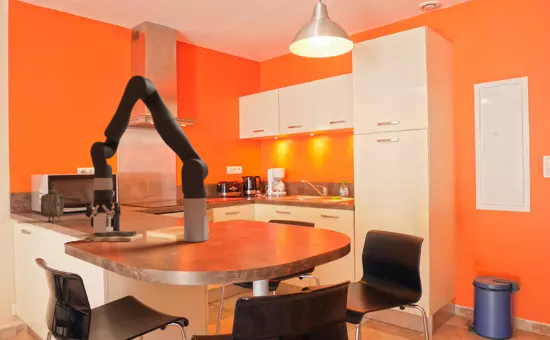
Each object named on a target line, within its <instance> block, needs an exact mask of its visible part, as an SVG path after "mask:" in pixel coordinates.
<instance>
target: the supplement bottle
mask: <svg viewBox="0 0 550 340" xmlns="http://www.w3.org/2000/svg"><path fill="white" fill-rule="evenodd" d="M112 209H113V211H114V213H115V208H114V207H112ZM105 215H109V214H108V213H106V214H105ZM120 221H121V215H120V216H118V217H116V225H115V227H113V231H121V229H120V226H121V224H120V223H121V222H120Z"/></svg>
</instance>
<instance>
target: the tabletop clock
mask: <svg viewBox="0 0 550 340" xmlns="http://www.w3.org/2000/svg"><path fill="white" fill-rule="evenodd" d="M52 185H54V186H52ZM50 188H51V189H50V190H49V191H48V193H45V194H43V195H42V196H41V197H40V214H41V216H43V217H45V218H46V217H48V219H47V220H50V221H51V218H52V222H53V221H54V220H55V217H57V219H61V220H62V218H61V216H63V214H64V211H65V210H64V207H65V202H64V194H63V193H61V192H60V193H59V192H58V191H57V189H55V188H56V184H55V182H54V181H52V182H50Z"/></svg>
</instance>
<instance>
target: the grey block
mask: <svg viewBox="0 0 550 340" xmlns="http://www.w3.org/2000/svg"><path fill="white" fill-rule="evenodd" d="M92 228H93V231H92V232H93V233H106V232H111V231H113V227H111V217H110V215H106V214H97V216H93V227H92Z"/></svg>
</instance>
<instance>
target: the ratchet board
mask: <svg viewBox="0 0 550 340" xmlns="http://www.w3.org/2000/svg"><path fill="white" fill-rule="evenodd" d="M142 237H143V238H144V235H143V234H142V233H137V231H136V230H134V231H132V230H131V231H130V230H129V231H128V230H127V231H126V230H124V231H122V230H120V231H111V232H106V233H94V235H91V236H86V237H84V241H85V240H95V241H94V242H100V241H131V242H133V241H137V240H140V239H143V238H142ZM139 238H140V239H139ZM136 239H137V240H136Z"/></svg>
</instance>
